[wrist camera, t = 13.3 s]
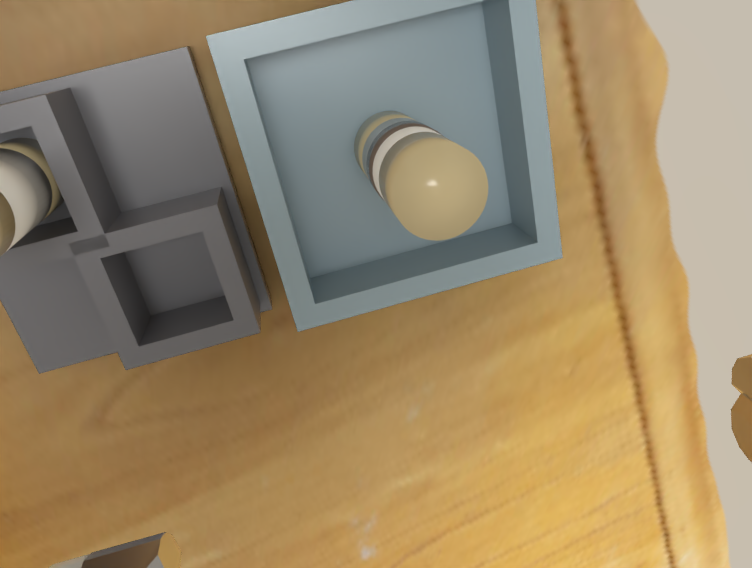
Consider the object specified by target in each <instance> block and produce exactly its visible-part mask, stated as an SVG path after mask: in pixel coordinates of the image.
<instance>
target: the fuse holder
mask: <svg viewBox="0 0 752 568" xmlns="http://www.w3.org/2000/svg"><path fill="white" fill-rule="evenodd" d="M22 137H23V138H31V139H35V140H38V142H39V145H40V147H41V149H42V151H43V154H44V156H45V158H46V160H47V163H48V165H49V167H50V169H51V172H52V174H53V176H54V178H55V181H56V183H57V185H58V187H59V190H60V192H61V194H62V196H63V199H64V202H63V203H62V204H61V205H60V206H59V207H57V208H56V209H55V210H54V211H53V212H52V213H51V214H49V215H48V216H47V217H46V218H45V219H44V220H42V221H41V222H40V223H39V224H38V225H37V226H35V227H34V228H33V229H32V230H31V231H30V232H28V233H27V234H26V235H25V236H24V237H23V238H21V239H20V240H19V241H18V242H17V243H16V244H14V245H13V246H12V247H11V248H10V249H9V250H7V251H6V252H5V253H4V254H3V255H2V256H1V257H0V300H1V302H2V304H3V306H4V308H5V310H6V311H7V313H8V315H9V317H10V319H11V321H12V323H13V325H14V327H15V329H16V331H17V332H18V334H19V336H20V338H21V340H22V342H23V344H24V346H25V348H26V350H27V352H28V353H29V355H30V357H31V359H32V361H33V363H34V365H35V367H36V369H37V371H38V373H39V374H40V373H43V372H47V371H51V370H54V369H58V368H61V367H65V366H69V365H72V364H76V363H80V362H83V361H87V360H90V359H94V358H98V357H101V356H105V355H109V354H112V353H116V352H118V354H119V357H120V359H121V361H122V363H123V365H124V368H125V370H128V369H132V368H135V367H139V366H142V365H146V364H150V363H153V362H157V361H160V360H164V359H168V358H171V357H175V356H178V355H182V354H186V353H189V352H193V351H196V350H200V349H203V348H207V347H211V346H214V345H218V344H221V343H225V342H229V341H232V340H236V339H239V338H243V337H247V336H250V335H254V334H257V333H260V313H261V312H264V311H268V310H272V301H271V298H270V295H269V291H268V288H267V285H266V282H265V279H264V276H263V273H262V270H261V267H260V264H259V261H258V257H257V254H256V251H255V248H254V245H253V242H252V239H251V236H250V233H249V230H248V227H247V223H246V220H245V217H244V214H243V211H242V208H241V205H240V202H239V199H238V196H237V193H236V189H235V186H234V183H233V180H232V177H231V174H230V171H229V168H228V165H227V162H226V159H225V156H224V152H223V149H222V146H221V143H220V140H219V137H218V134H217V131H216V128H215V125H214V122H213V118H212V115H211V112H210V109H209V106H208V103H207V100H206V97H205V94H204V91H203V88H202V84H201V81H200V78H199V75H198V72H197V69H196V66H195V63H194V60H193V57H192V54H191V50H190V47H189V46H187V47H183V48H179V49H175V50H171V51H167V52H163V53H158V54H154V55H150V56H146V57H142V58H138V59H134V60H130V61H125V62H121V63H117V64H113V65H109V66H105V67H101V68H97V69H93V70H88V71H84V72H80V73H76V74H72V75H68V76H64V77H60V78H55V79H51V80H47V81H43V82H39V83H35V84H31V85H27V86H23V87H18V88H14V89H10V90H6V91H2V92H0V143H1V142H4V141H6V140H9V139H13V138H22Z"/></svg>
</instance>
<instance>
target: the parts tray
mask: <svg viewBox="0 0 752 568" xmlns="http://www.w3.org/2000/svg"><path fill="white" fill-rule="evenodd" d="M206 39H207V42H208V45H209V48H210V51H211V55H212V58H213V61H214V64H215V67H216V71H217V74H218V77H219V80H220V83H221V87H222V90H223V93H224V96H225V100H226V103H227V106H228V109H229V112H230V116H231V119H232V122H233V125H234V128H235V132H236V135H237V138H238V141H239V145H240V148H241V151H242V154H243V157H244V161H245V164H246V167H247V170H248V173H249V177H250V180H251V183H252V186H253V189H254V193H255V196H256V199H257V202H258V206H259V209H260V212H261V215H262V218H263V222H264V225H265V228H266V231H267V234H268V238H269V241H270V244H271V247H272V250H273V254H274V257H275V260H276V263H277V267H278V270H279V273H280V276H281V279H282V283H283V286H284V289H285V292H286V295H287V299H288V302H289V305H290V308H291V312H292V315H293V318H294V321H295V324H296V328H297V331H298V332H299V331H303V330H306V329H310V328H314V327H317V326H321V325H324V324H328V323H331V322H335V321H339V320H342V319H346V318H349V317H353V316H356V315H360V314H364V313H367V312H371V311H374V310H378V309H382V308H385V307H389V306H392V305H396V304H399V303H403V302H407V301H410V300H414V299H417V298H421V297H424V296H428V295H432V294H435V293H439V292H442V291H446V290H450V289H453V288H457V287H460V286H464V285H467V284H471V283H475V282H478V281H482V280H485V279H489V278H493V277H496V276H500V275H503V274H507V273H510V272H514V271H518V270H521V269H525V268H528V267H532V266H535V265H539V264H543V263H546V262H550V261H553V260H557V259H561V258H563V257H562V248H561V238H560V229H559V219H558V210H557V200H556V191H555V181H554V171H553V162H552V152H551V143H550V133H549V124H548V114H547V105H546V95H545V85H544V76H543V66H542V57H541V47H540V38H539V28H538V19H537V9H536V0H353V1H349V2H344V3H340V4H336V5H332V6H328V7H324V8H320V9H316V10H311V11H307V12H303V13H299V14H295V15H291V16H287V17H283V18H278V19H274V20H270V21H266V22H262V23H258V24H254V25H249V26H245V27H241V28H237V29H233V30H229V31H225V32H221V33H216V34H212V35H208V36H206ZM383 111H397V112H401V113H403V114H405V115H407V116H409V117H411V118H412V119H414V120H416V121H418V122H420V123H423V124H425V125H427V126H429V127H431V128H432V129H434V130H436V131H438V132H439V133H440V134H442V135H443V136H444V137H446V138H448V139H449V140H451V141H453V142H455V143H456V144H458V145H460V146H462V147H464V148H465V149H467V150H469V151H470V152H471V153H473V154H474V155H475V156H476V157H477V158H478V159H479V161H480V162H481V164H482V165H483V167H484V169H485V172H486V175H487V179H488V197H487V201H486V205H485V207H484V210H483V212H482V213H481V215H480V217H479V218H478V220H477V221H476V222H475V223H474V224H473V225H472V226H471V227H470V228H469V229H468V230H466V231H465V232H463V233H462V234H460V235H458V236H456V237H453V238H450V239H446V240H439V241H434V240H426V239H423V238H420V237H418V236H416V235H414V234H412V233H411V232H409V231H408V230H407V229H406V228H405V227H404V226H403V225H402V224H401V222H400V221H399V220H398V218H397V217H396V216H395V214H394V213H393V212H392V210H391V209H390V207H389V206H388V205H387V203H386V202H385V201H384V200H383V199H382V198H381V197H380V196H379V195H378V193H377V192H376V190H375V189H374V188H373V186H372V184H371V183H370V180H369V179H368V178H367V176H366V175H365V174H364V172H363V171H362V169H361V168H360V167H359V165H358V163H357V161H356V158H355V153H354V141H355V137H356V134H357V132H358V130H359V128H360V127H361V125H362V124H363V123H364V122H365V121H366V120H367V119H368V118H369V117H371V116H372V115H374V114H376V113H379V112H383Z"/></svg>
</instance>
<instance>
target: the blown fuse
mask: <svg viewBox="0 0 752 568" xmlns="http://www.w3.org/2000/svg"><path fill="white" fill-rule="evenodd" d="M354 153H355V158H356V161H357V163H358V165H359V167H360V168H361V169H362V171H363V172H364V174H365V175H366V176H367V178H368V179H369V180H370V183H371V184H372V186H373V188H374V189H375V190H376V192H377V193H378V195H379V196H380V197H381V198H382V199H383V200H384V201H385V202H386V203H387V205H388V206H389V207H390V209H391V210H392V212H393V213H394V214H395V216H396V217H397V218H398V220H399V221H400V222H401V224H402V225H403V226H404V227H405V228H406V229H407V230H408V231H409V232H411V233H412V234H414V235H416V236H418V237H420V238H423V239H426V240H434V241H439V240H446V239H450V238H453V237H456V236H458V235H460V234H462V233H463V232H465V231H466V230H468V229H469V228H470V227H471V226H472V225H473V224H474V223H475V222H476V221H477V220H478V218H479V217H480V215H481V213H482V212H483V210H484V207H485V205H486V201H487V197H488V179H487V175H486V172H485V169H484V167H483V165H482V164H481V162H480V161H479V159H478V158H477V157H476V156H475V155H474V154H473V153H471V152H470V151H469V150H467V149H465V148H464V147H462V146H460V145H458V144H456V143H455V142H453V141H451V140H449V139H448V138H446V137H444V136H443V135H442V134H440V133H439V132H438V131H436V130H434V129H432V128H431V127H429V126H427V125H425V124H423V123H420V122H418V121H416V120H414V119H412V118H411V117H409V116H407V115H405V114H403V113H401V112H397V111H383V112H379V113H376V114H374V115H372V116H371V117H369V118H368V119H367V120H366V121H365V122H364V123H363V124H362V125H361V127H360V128H359V130H358V132H357V134H356V137H355V141H354Z"/></svg>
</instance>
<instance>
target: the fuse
mask: <svg viewBox="0 0 752 568" xmlns="http://www.w3.org/2000/svg"><path fill="white" fill-rule="evenodd" d="M63 202H64V199H63V196H62V194H61V192H60V190H59V187H58V185H57V183H56V181H55V178H54V176H53V174H52V172H51V169H50V167H49V165H48V163H47V160H46V158H45V156H44V154H43V151H42V149H41V147H40V145H39V142H38V140H35V139H31V138H23V137H22V138H13V139H9V140H6V141H4V142H1V143H0V257H1V256H2V255H3V254H4V253H5V252H6V251H7V250H9V249H10V248H11V247H12V246H13V245H14V244H16V243H17V242H18V241H19V240H20V239H21V238H23V237H24V236H25V235H26V234H27V233H28V232H30V231H31V230H32V229H33V228H34V227H35V226H37V225H38V224H39V223H40V222H41V221H42V220H44V219H45V218H46V217H47V216H48V215H49V214H51V213H52V212H53V211H54V210H55V209H56V208H57V207H59V206H60V205H61V204H62V203H63Z"/></svg>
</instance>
